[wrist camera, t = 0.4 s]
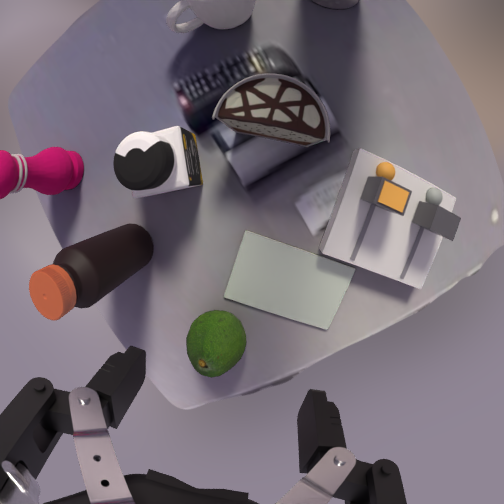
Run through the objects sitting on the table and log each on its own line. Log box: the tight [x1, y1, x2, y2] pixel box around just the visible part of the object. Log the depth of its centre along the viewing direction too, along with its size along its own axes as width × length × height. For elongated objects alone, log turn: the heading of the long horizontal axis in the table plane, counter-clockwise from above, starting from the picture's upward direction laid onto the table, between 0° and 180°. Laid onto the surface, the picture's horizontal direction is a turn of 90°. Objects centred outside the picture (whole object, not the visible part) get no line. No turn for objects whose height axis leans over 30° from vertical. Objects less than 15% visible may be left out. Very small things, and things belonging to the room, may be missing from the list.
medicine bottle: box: [114, 126, 203, 198], centre depth 31 cm, size 7×7×12 cm
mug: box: [166, 0, 255, 33], centre depth 26 cm, size 13×9×10 cm
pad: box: [224, 230, 356, 330], centre depth 40 cm, size 10×16×1 cm, turn 71°
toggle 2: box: [412, 201, 461, 241], centre depth 31 cm, size 3×4×5 cm
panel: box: [319, 148, 456, 289], centre depth 35 cm, size 14×16×4 cm
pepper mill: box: [0, 147, 84, 199], centre depth 28 cm, size 7×7×20 cm
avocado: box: [186, 310, 246, 377], centre depth 37 cm, size 8×8×12 cm
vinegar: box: [29, 224, 153, 320], centre depth 31 cm, size 7×7×20 cm
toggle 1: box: [360, 176, 412, 216], centre depth 30 cm, size 3×4×5 cm
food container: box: [213, 74, 330, 147], centre depth 30 cm, size 12×6×10 cm, turn 78°
